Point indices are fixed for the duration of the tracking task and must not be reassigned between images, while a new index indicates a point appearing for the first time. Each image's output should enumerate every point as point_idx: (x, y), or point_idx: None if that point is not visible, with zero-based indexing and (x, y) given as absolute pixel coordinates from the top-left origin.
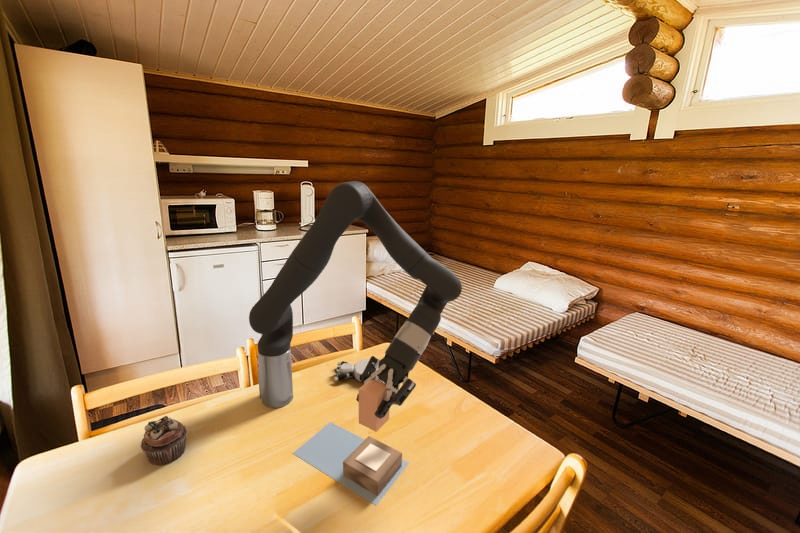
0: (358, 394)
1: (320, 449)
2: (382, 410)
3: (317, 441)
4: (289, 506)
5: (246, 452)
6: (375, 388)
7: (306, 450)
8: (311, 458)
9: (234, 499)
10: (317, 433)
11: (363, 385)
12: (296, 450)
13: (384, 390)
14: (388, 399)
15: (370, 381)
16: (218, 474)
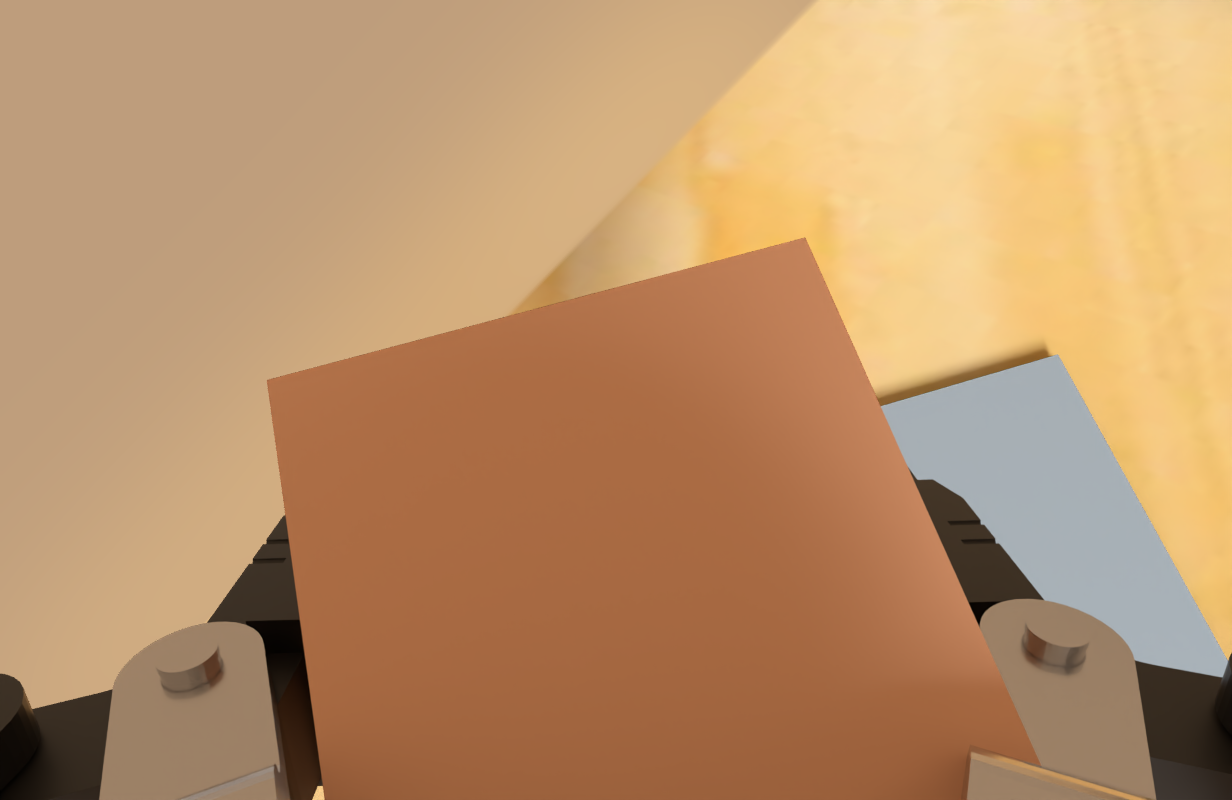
0: (954, 507)
1: (1000, 504)
2: (285, 541)
3: (1084, 524)
4: (726, 224)
5: (1196, 185)
6: (554, 557)
7: (1037, 430)
8: (954, 424)
9: (909, 72)
10: (1165, 562)
11: (857, 388)
12: (1067, 381)
13: (318, 712)
14: (149, 660)
15: (925, 654)
16: (1099, 58)
